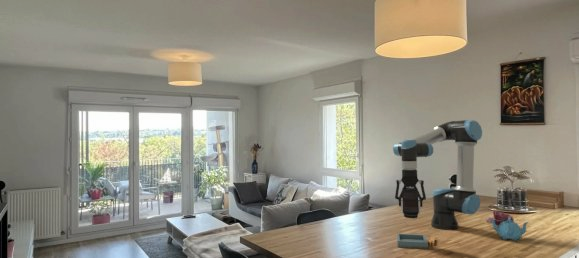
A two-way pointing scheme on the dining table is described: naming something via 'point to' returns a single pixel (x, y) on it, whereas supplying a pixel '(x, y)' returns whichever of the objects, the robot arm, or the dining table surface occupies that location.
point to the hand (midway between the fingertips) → (410, 212)
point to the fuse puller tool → (432, 241)
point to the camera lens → (410, 202)
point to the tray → (412, 241)
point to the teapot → (509, 229)
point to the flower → (499, 217)
